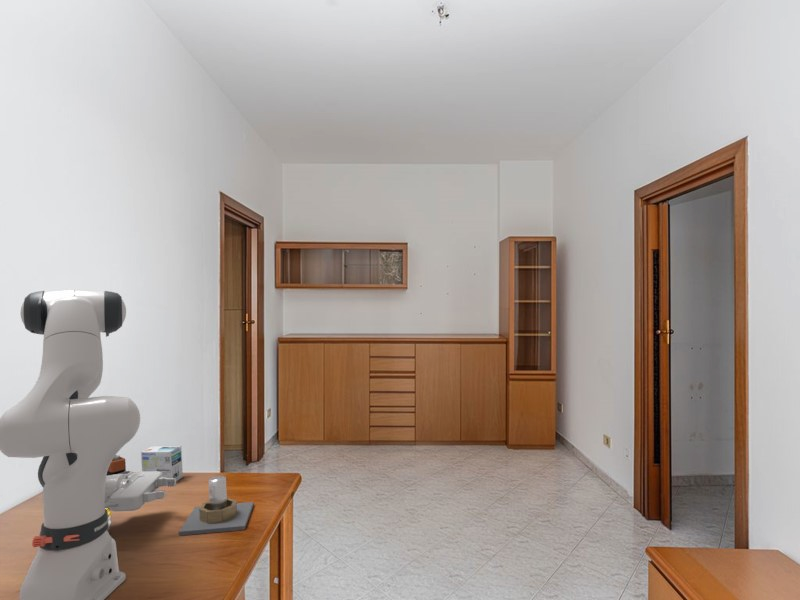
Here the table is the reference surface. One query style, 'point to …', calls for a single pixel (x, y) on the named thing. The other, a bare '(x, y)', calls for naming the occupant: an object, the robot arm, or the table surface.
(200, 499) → the table surface
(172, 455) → the light bulb box
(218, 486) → the piston
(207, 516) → the bronze ring
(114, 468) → the battery
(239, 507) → the base plate
